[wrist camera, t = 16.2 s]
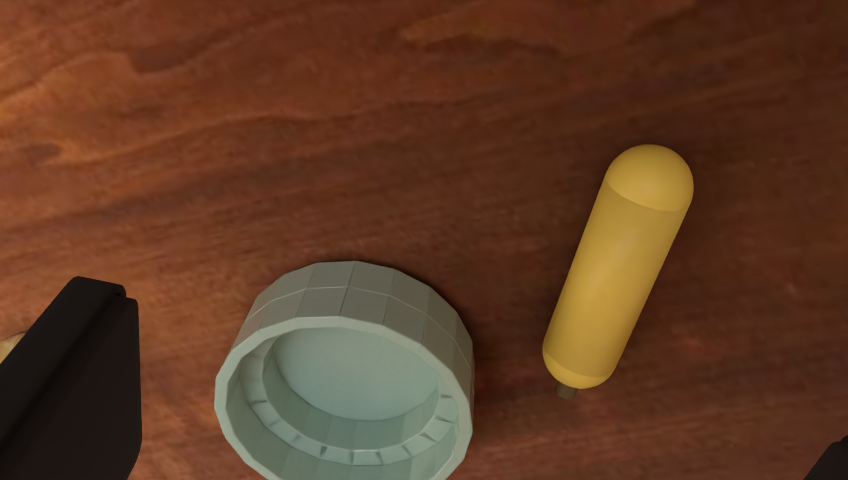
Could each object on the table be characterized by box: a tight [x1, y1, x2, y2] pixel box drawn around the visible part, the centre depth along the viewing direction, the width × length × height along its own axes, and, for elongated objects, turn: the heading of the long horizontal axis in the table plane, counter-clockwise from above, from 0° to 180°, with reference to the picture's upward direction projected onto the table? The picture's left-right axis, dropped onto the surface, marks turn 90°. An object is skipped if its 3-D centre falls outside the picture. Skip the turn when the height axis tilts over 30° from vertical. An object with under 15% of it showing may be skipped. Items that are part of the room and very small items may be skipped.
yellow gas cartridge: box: [543, 144, 694, 400], centre depth 33 cm, size 14×4×4 cm
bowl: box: [214, 261, 475, 480], centre depth 36 cm, size 12×12×5 cm
